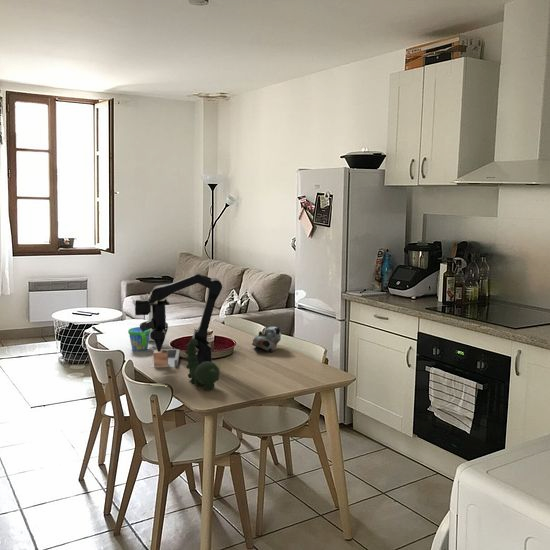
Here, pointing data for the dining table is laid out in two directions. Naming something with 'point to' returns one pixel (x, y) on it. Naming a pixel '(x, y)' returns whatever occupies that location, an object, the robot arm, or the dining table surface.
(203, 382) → the toy figurine
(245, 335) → the dining table surface
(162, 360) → the terracotta block
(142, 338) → the snack cup
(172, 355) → the two-wall tray
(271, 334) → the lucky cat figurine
